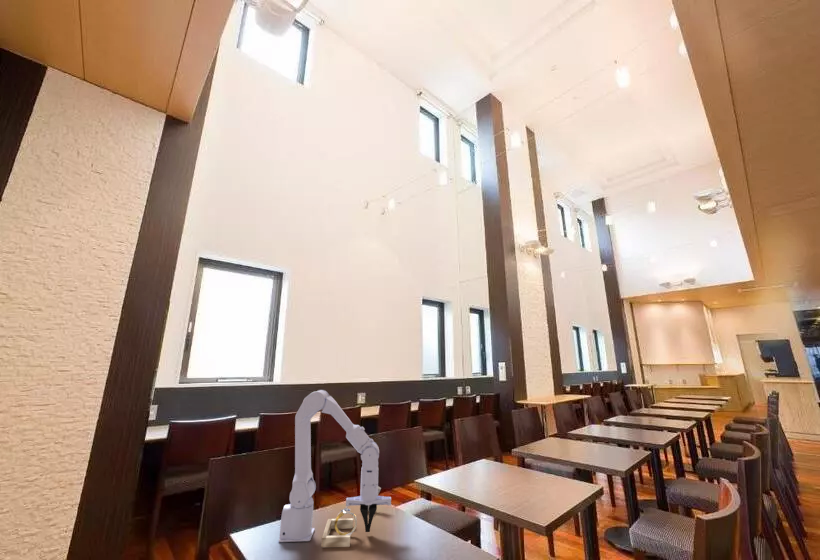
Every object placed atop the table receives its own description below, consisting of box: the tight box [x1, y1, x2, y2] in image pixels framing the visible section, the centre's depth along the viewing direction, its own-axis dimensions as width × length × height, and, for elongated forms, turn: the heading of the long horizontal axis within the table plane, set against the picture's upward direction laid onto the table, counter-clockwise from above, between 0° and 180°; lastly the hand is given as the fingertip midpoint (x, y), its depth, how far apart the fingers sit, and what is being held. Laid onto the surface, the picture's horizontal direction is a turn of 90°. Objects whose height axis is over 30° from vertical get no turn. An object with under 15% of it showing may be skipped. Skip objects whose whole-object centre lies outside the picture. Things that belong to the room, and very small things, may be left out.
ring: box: [334, 506, 358, 536], centre depth 109 cm, size 7×3×8 cm, turn 91°
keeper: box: [320, 517, 354, 548], centre depth 108 cm, size 8×13×2 cm, turn 5°
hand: (367, 530), depth 109 cm, fingers closed
